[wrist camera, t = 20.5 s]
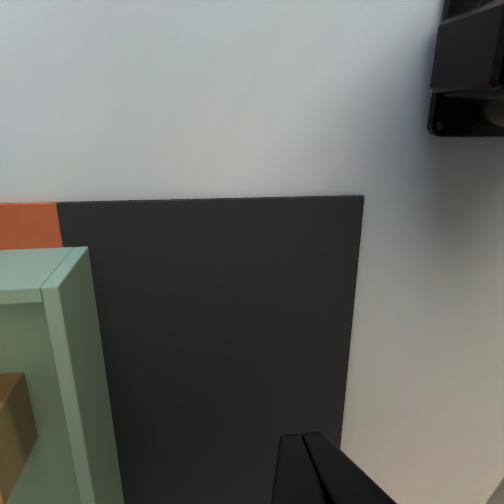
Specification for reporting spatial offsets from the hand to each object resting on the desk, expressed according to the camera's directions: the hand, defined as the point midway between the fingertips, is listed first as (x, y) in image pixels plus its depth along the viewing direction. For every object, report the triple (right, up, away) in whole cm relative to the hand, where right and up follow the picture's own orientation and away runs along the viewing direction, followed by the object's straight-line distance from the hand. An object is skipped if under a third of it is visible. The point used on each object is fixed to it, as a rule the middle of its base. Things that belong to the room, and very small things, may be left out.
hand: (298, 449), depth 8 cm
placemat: (-9, -3, +13) cm, 16 cm away
